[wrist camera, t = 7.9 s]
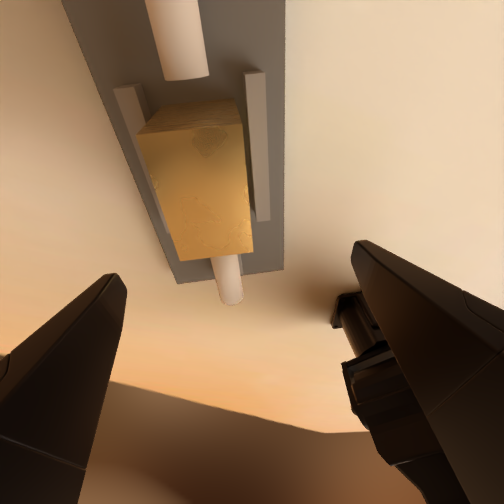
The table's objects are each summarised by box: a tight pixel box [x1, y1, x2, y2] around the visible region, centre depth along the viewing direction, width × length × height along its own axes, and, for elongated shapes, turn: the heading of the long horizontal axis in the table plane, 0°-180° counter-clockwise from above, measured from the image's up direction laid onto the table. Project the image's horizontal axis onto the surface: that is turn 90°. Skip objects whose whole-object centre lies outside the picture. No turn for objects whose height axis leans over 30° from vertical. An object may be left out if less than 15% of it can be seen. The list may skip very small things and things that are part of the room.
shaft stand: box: [61, 0, 285, 305], centre depth 15 cm, size 22×10×5 cm, turn 4°
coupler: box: [136, 98, 253, 261], centre depth 14 cm, size 6×4×6 cm, turn 4°
